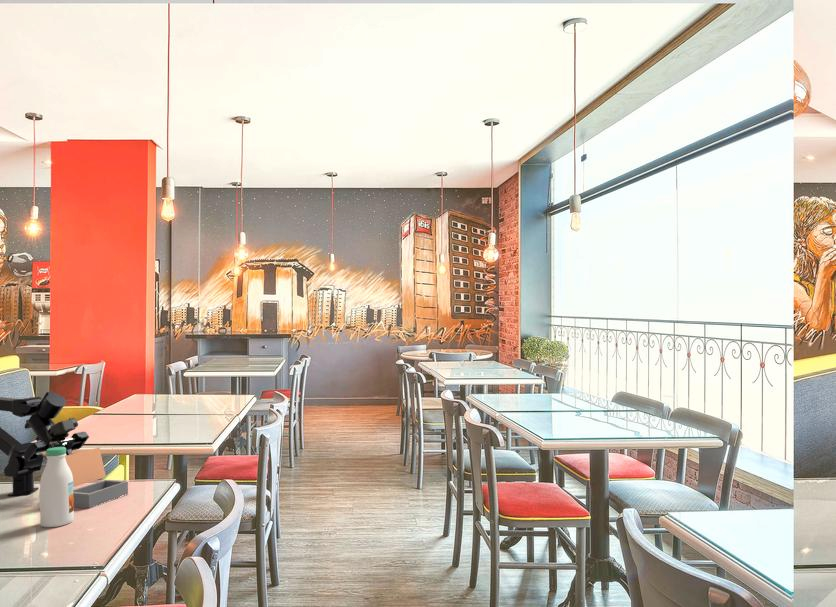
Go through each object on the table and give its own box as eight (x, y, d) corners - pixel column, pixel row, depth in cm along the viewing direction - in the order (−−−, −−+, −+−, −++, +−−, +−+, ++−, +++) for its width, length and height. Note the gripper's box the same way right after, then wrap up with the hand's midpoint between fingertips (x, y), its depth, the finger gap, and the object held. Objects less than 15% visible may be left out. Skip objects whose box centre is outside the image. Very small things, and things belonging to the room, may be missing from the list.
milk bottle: (63, 527, 158) (61, 450, 158) (33, 528, 158) (32, 451, 158) (80, 518, 166) (78, 444, 166) (52, 518, 166) (50, 445, 166)
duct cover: (66, 489, 177) (64, 489, 178) (106, 476, 190) (104, 477, 191) (59, 457, 178) (57, 457, 179) (99, 447, 192) (97, 447, 192)
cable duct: (66, 506, 177) (66, 492, 177) (106, 492, 190) (105, 479, 190) (89, 508, 174) (89, 494, 174) (128, 494, 187) (127, 481, 187)
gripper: (29, 415, 180) (57, 454, 175) (84, 406, 197) (110, 441, 193) (11, 441, 182) (38, 480, 178) (66, 430, 200) (92, 465, 196)
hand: (72, 465), depth 186 cm, fingers closed
